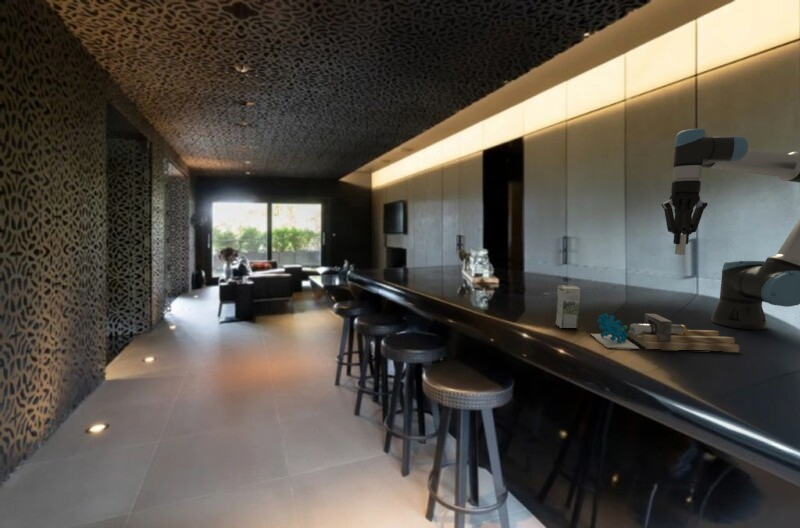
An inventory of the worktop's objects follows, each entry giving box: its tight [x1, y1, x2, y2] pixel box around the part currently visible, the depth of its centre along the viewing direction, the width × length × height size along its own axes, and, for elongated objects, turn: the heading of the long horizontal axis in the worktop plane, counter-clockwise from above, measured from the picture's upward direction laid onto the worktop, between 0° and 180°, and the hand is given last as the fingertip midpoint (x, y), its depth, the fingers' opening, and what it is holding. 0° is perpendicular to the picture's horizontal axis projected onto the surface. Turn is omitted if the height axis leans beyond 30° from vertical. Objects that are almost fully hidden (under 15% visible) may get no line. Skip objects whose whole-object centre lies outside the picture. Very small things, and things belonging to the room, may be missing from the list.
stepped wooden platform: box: [627, 313, 741, 353], centre depth 121 cm, size 25×12×8 cm, turn 85°
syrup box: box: [555, 285, 581, 329], centre depth 139 cm, size 6×6×14 cm
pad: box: [590, 333, 640, 350], centre depth 123 cm, size 9×13×1 cm
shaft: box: [629, 323, 689, 336], centre depth 121 cm, size 15×4×4 cm, turn 85°
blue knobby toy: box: [597, 313, 629, 343], centre depth 125 cm, size 11×6×10 cm
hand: (679, 254), depth 129 cm, fingers closed
